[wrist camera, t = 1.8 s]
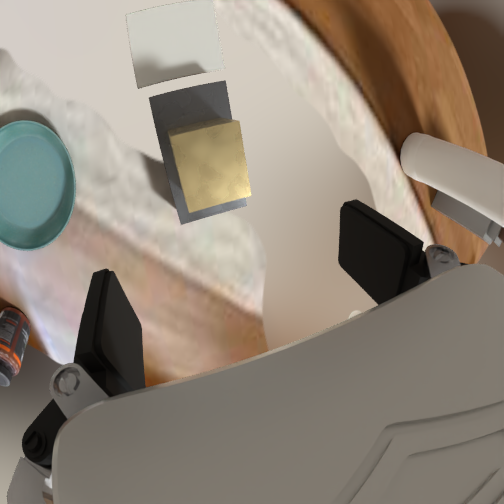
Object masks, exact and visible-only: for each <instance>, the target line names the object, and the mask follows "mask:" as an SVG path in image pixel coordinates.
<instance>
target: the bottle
mask: <svg viewBox="0 0 504 504" xmlns="http://www.w3.org/2000/svg"><path fill="white" fill-rule="evenodd" d="M400 160H401V166H402V169H403V171H404V172H405V173H406V174H407V175H408V176H410V177H412V178H413V179H415V180H417V181H420V182H423V183H425V184H427V185H429V186H431V187H433V188H435V189H437V190H439V191H441V192H443V193H445V194H447V195H449V196H451V197H453V198H455V199H457V200H458V201H460V202H462V203H464V204H466V205H468V206H469V207H471V208H473V209H475V210H476V211H478V212H480V213H481V214H483V215H485V216H486V217H488V218H490V219H491V220H493V221H494V222H496V223H498V224H499V225H501V226H502V227H504V164H502V163H500V162H497V161H495V160H493V159H491V158H488V157H486V156H484V155H481V154H479V153H476V152H474V151H471V150H469V149H466V148H463V147H461V146H458V145H455V144H452V143H450V142H447V141H444V140H441V139H438V138H434V137H432V136H430V135H427V134H421V133H418V132H416V133H412V134H410V135H409V136H408V137H407V138H406V140H405V141H404V143H403V146H402V148H401V155H400Z"/></svg>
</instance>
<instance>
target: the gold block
mask: <svg viewBox="0 0 504 504" xmlns="http://www.w3.org/2000/svg"><path fill="white" fill-rule="evenodd" d="M168 135H169V139H170V143H171V148H172V152H173V156H174V160H175V164H176V168H177V172H178V176H179V180H180V184H181V188H182V192H183V195H184V198H185V201H186V204H187V207H188V211H189V213H191V212H194V211H198V210H201V209H205V208H208V207H212V206H215V205H219V204H222V203H226V202H230V201H233V200H237V199H241V198H244V197H248V196H251V191H250V184H249V178H248V172H247V165H246V159H245V153H244V147H243V141H242V134H241V129H240V122H239V121H237V120H232V119H227V118H216V119H211V120H207V121H202V122H198V123H194V124H190V125H186V126H182V127H178V128H174V129H171V130H168Z"/></svg>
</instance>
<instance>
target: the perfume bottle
mask: <svg viewBox="0 0 504 504" xmlns="http://www.w3.org/2000/svg"><path fill="white" fill-rule="evenodd" d="M431 207H433V208H434V209H436V210H437V211H439V212H440V213H442V214H443V215H445V216H446V217H448V218H450V219H451V220H453V221H455V222H456V223H458V224H459V225H461V226H463V227H464V228H466V229H467V230H469V231H470V232H472V233H473V234H475V235H477V236H478V237H479V238H481V239H482V240H484V241H485V242H487V243H488V244H491V242H492V240H493V241H494V242H495V243H496V244H497V245H498V246H500V244H501V242H502V241H503V242H504V227H502V226H501V225H499V224H498V223H496V222H494V221H493V220H491V219H490V218H488V217H486V216H485V215H483V214H481V213H480V212H478V211H476V210H475V209H473V208H471V207H469V206H468V205H466V204H464V203H462V202H460V201H458V200H457V199H455V198H453V197H451V196H449V195H447V194H445V193H443V192H441V191H439V190H438V191H437V194H436V196H435V198H434V201H433V203H432V205H431Z"/></svg>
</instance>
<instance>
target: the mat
mask: <svg viewBox="0 0 504 504" xmlns="http://www.w3.org/2000/svg"><path fill="white" fill-rule="evenodd" d="M126 21H127V29H128V36H129V43H130V49H131V55H132V60H133V66H134V71H135V77H136V82H137V87H138V89H139V88H142V87H146V86H149V85H153V84H156V83H160V82H164V81H168V80H172V79H177V78H181V77H185V76H190V75H195V74H200V73H206V72H211V71H218V70H224V69H225V66H224V60H223V55H222V49H221V43H220V37H219V31H218V26H217V20H216V14H215V8H214V3H213V0H192V1H185V2H179V3H173V4H168V5H163V6H158V7H153V8H150V9H145V10H141V11H138V12H134V13H130V14H126Z"/></svg>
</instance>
